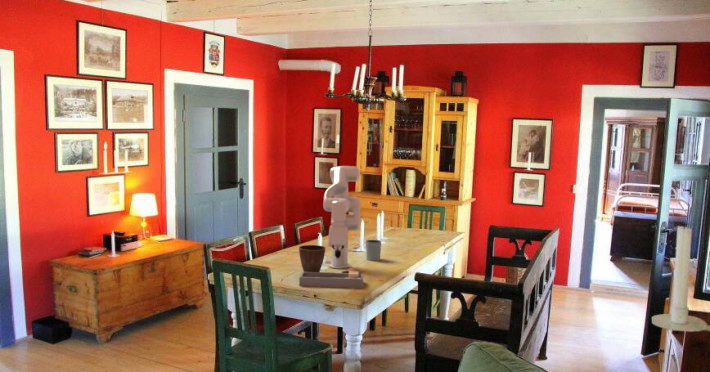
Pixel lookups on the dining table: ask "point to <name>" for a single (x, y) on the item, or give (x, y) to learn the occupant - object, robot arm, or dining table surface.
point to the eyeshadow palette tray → (329, 280)
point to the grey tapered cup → (373, 250)
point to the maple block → (353, 275)
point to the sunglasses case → (351, 270)
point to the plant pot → (311, 257)
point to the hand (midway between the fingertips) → (337, 257)
